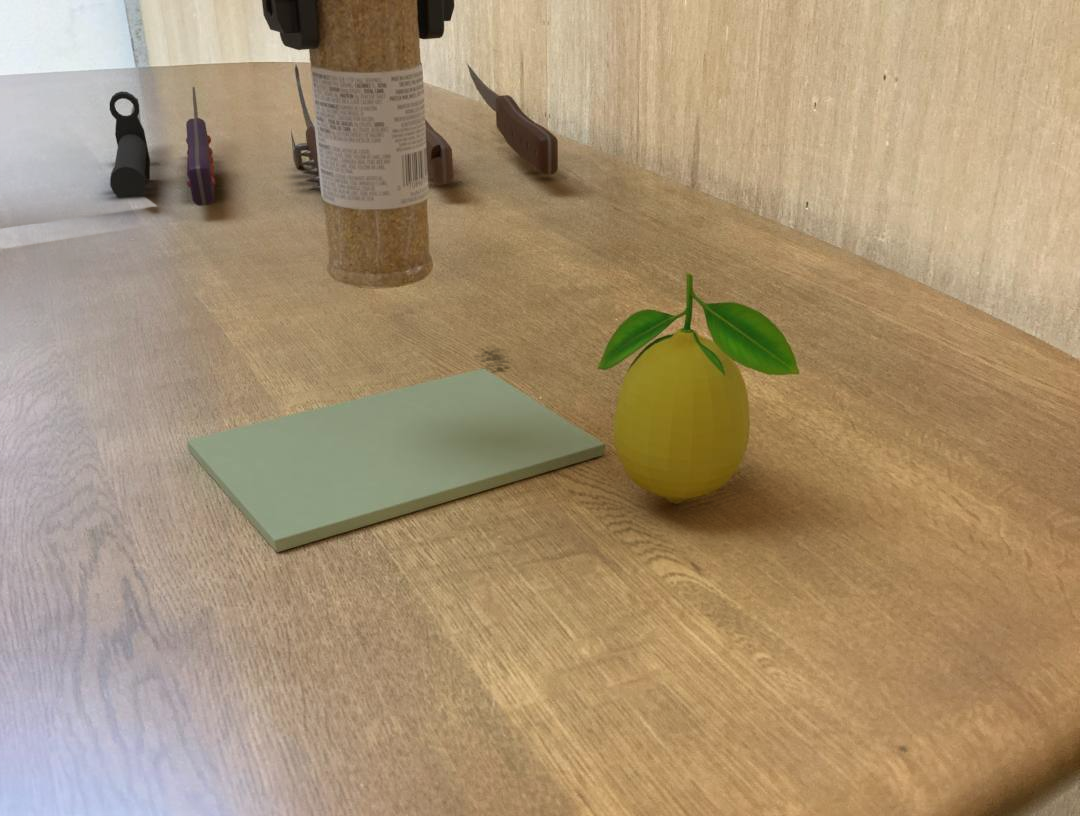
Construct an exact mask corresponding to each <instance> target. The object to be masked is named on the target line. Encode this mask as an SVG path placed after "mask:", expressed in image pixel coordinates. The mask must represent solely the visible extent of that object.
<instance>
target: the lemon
mask: <svg viewBox="0 0 1080 816" xmlns="http://www.w3.org/2000/svg"><path fill="white" fill-rule="evenodd" d="M693 281H694V277H693V275H692V274H691V273H686V303H685V305H686V306H685V309H684V310H683V311H682V312H680V313H677V314H675V315H674V314H671V313H667V312H663V311H659V310H656V309H642V310H639V311H636V312H634V313H632V314H631V315H629V316H628V317H627V318H626V319H625V320H624V321H623V322H622V323H621V324H619V325H618V327H617V329H616V330H615V331H614V333H613V334H612V335H611V337H610V339H609V341H608V343H607V344H606V347H605V349H604V351H603V354H602V356H601V359H600V361H599V363H598V366H597V369H598V370H604V371H605V370H609V369H611V368H613V367H616V366H617V365H619V364H620V363H622V362H624V361H625V360H626V359H627V358H629V357H631V356H632V355H633V354H634V353H636V352H637V351H639V350H641V348H643V347H644V346H645V347H644V348H643V349H642V350H641V351H640V352H639V353H638V354H637V356H636V357H635V359H634V360H633V361H632V363H631V364H630V366H629V368H628V369H627V371H626V373H625V375H624V377H623V379H622V383H621V385H620V388H619V392H618V396H617V401H616V408H615V413H614V421H613V441H614V442H613V444H614V447H615V453H616V456H617V458H618V460H619V462H620V464H621V466H622V468H623V470H624V471H625V473H626V474H627V476H628V477H629V478H630V480H631V481H632V482H633V483H634V484H636V485H637V486H639V487H640V488H641V489H643V490H645V491H647V492H649V493H650V494H654V495H656V496H658V497H662V498H665V500H666V501H667V502H669V503H671V504H677V505H679V504H681V503H683V502H684V501H686V500H687V499H688V500H689V499H695V498H699V497H702V496H705V495H708V494H711V493H713V492H715V491H717V490H719V489H720V488H722V487H724V486H725V485H726V484H727V483H728V482H729V481H730V480H731V479H732V477H733V476H734V475H735V473H736V471H737V470H738V468H739V466H740V465H741V463H742V462H743V458H744V457H745V453H746V451H747V447H748V443H749V438H750V430H751V429H750V427H751V422H750V420H751V418H750V404H749V403H750V402H749V395H748V390H747V385H746V382H745V378H744V377H743V374H742V372H741V370H740V368H739V366H738V364H739V365H741V366H743V367H744V368H747V369H749V370H750V369H751V370H752V371H756V372H758V373H762V374H765V375H768V376H769V375H770V376H771V375H772V376H786V375H800V370H799V368H798V363H797V360H796V356H795V354H794V352H793V350H792V347H791V346H790V343H789V342H788V340H787V338H786V336H785V335H784V334H783V333H782V331H781V330H780V329H779V328H778V326H777V325H776V324H775V323H773V321H771V320H770V319H769V318H768V317H767V316H766V315H765V314H763V312H761V311H758V310H756V309H754V308H752V307H750V306H748V305H745V304H742V303H738V302H737V303H736V302H733V301H728V302H727V301H725V302H712V303H711V302H709V303H708V302H704V301H703V300H701V299H700V298H699V297H698V296H697V295H696V293H695V292H694V289H693V288H694V286H693ZM694 300H695V301H696V302H697V303H698V304H699V305H700V306H701V307H702V310H703V314H704V317H705V322H706V326H707V329H708V333H709V334H710V336H711V339H710V338H708V337H705V336H702V335H700V334H699V333H698V331H697V330H695V329H693V328H691V324H692V316H693V301H694ZM683 316H685V318H684V325H683V327H681V328H679V329H677V330H676V332H675V333H672V334H667V335H663V336H660V337H658V336H659V335H660V334H661V333H662V332H664V331H665V330H666V329H667V328H668V327H670V325H671V324H672V323H674V322H675V321H677V320H678V319H680V318H682V317H683ZM656 337H658V338H656ZM651 341H652V342H651ZM647 344H648V345H647Z"/></svg>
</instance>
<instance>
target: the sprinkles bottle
mask: <svg viewBox="0 0 1080 816" xmlns="http://www.w3.org/2000/svg"><path fill="white" fill-rule="evenodd" d="M316 4H317V15H318V26H319V37H320V41H319V46H318V48H317V49H308V52H309V63H310V73H311V75H310V76H311V85H312V96H313V97H312V99H313V113H314V119H313V122H314V124H313V125H314V127H315V136H316V146H317V156H318V167H319V178H320V188H321V192H320V195H321V198H322V200H323V212H324V215H325V231H326V240H327V241H326V242H327V248H328V260H327V263H326V269H327V273H328V275H329V276H330V277H331V278H332V280H333V281H335V282H338V283H341V284H344V285H345V286H346V285H347V286H351V287H356V288H361V289H372V290H378V289H379V290H380V289H388V288H390V289H391V288H392V289H393V288H400V287H404V286H410V285H413V284H417V283H419V282H421V281H423V280H425V279H426V278H427V277H428V276H429V275H430V274H431V273H432V271H433V268H434V263H433V262H434V261H433V257H432V255H431V254H430V253H431V252H430V231H429V230H430V229H429V228H430V227H429V215H428V199H429V194H430V193H429V172H428V170H427V149H426V127H425V119H426V110H425V109H426V107H425V89H424V88H425V86H424V71H423V69H424V68H423V63H422V60H421V47H420V45H421V44H420V43H421V42H420V38H419V27H418V18H417V17H418V11H417V0H316Z"/></svg>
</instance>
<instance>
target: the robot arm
mask: <svg viewBox="0 0 1080 816" xmlns="http://www.w3.org/2000/svg"><path fill="white" fill-rule="evenodd" d="M261 4H262V5H261V6H262V14H263V17H264V20H265V21H266V24H267V25H268V28H269V30H271V31H274V32H278V33H279V37H280V40H281V42H282V44H283V46H284V47H287V48H290V49H293V50H297V51H305V50H309V49H317V48H318V46H319V41H320V37H319V26H318V15H317V4H316V0H261ZM454 10H455V0H417V11H418V17H417V18H418V27H419V40H420V39H421V40H433V39H434V40H435V39H441V38H442V37H443V35H444V33H445V22H451V20H452V18H453V15H454V14H453V13H454Z"/></svg>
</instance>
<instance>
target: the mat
mask: <svg viewBox="0 0 1080 816" xmlns="http://www.w3.org/2000/svg"><path fill="white" fill-rule="evenodd" d="M186 444H187V450H188V452H189V453H190V455H192V456H193V457H194V458H195V460H196V461H197V462H198V463H199V464H200V466H201V467H202V468H203V470H205V471H206V473H207V474H208V475H209V476H210V477H211V478H212V480H213V481H214V482H215V483H216V484H217V485H218V486H219V487H220V489H221V490H222V491H223V492H224V493H225V495H226V496H227V497H228V498H229V499H230V500H231V501H232V503H233V504H234V505H235V506H236V507H237V508H238V509H239V511H240V512H241V513H242V515H244V517H245V518H246V519H247V520H248V521H249V522H250V524H251V525H252V526H253V527H254V528H255V529H256V530H257V531H258V533H259V534H260V535H261V536H262V538H263V539H264V540H265V541H266V542H267V543H268V544H269V545H270V546H271V547H272V549H273V551H275V552H276V553H280V552H283V551H287V550H289V549H294V548H296V547H300V546H304V545H307V544H310V543H314V542H316V541H321V540H324V539H327V538H330V537H333V536H337V535H340V534H341V535H342V534H344V533H347V532H351V531H354V530H357V529H360V528H364V527H367V526H370V525H373V524H377V523H380V522H384V521H387V520H391V519H394V518H397V517H402V516H404V515H407V514H411V513H415V512H418V511H421V510H425V509H427V508H430V507H434V506H437V505H441V504H444V503H447V502H451V501H454V500H458V499H461V498H465V497H468V496H470V495H475V494H478V493H481V492H484V491H489V490H491V489H494V488H497V487H501V486H505V485H508V484H511V483H515V482H518V481H522V480H525V479H529V478H532V477H535V476H539V475H541V474H546V473H548V472H551V471H555V470H558V469H561V468H565V467H569V466H573V465H575V464H579V463H582V462H586V461H589V460H592V459H595V458H598V457H602V456H604V455H605V453H606V444H605V442H603V441H601V440H599V439H598V438H597V437H595V436H594V435H591V434H590V433H589V432H587V431H586V430H584V429H582V428H581V427H579V426H577V425H576V424H574V423H573V422H571V421H569V420H567V419H566V418H565V417H563V416H561V415H560V414H558V413H557V412H555V411H553V410H552V409H550V408H549V407H547V406H545V405H544V404H542V403H540V402H539V401H538V400H536V399H534V398H533V397H531V396H529V395H528V394H527V393H525V392H523V391H522V390H519V389H518V388H516V387H515V386H513V385H512V384H510V383H508V382H507V381H505V380H503V378H500V377H499V376H498V375H497V374H494V373H493V372H491V371H489V370H487V369H486V368H479V369H475V370H470V371H467V372H462V373H459V374H454V375H451V376H446V377H442V378H436V379H433V380H429V381H425V382H421V383H417V384H412V385H409V386H405V387H400V388H395V389H392V390H391V389H390V390H387V391H384V392H378V393H375V394H371V395H367V396H362V397H359V398H353V399H350V400H347V401H341V402H338V403H334V404H330V405H325V406H321V407H317V408H312V409H309V410H305V411H299V412H295V413H292V414H288V415H287V414H286V415H284V416H280V417H279V416H278V417H275V418H271V419H267V420H262V421H259V422H254V423H250V424H246V425H242V426H238V427H234V428H229V429H225V430H222V431H217V432H213V433H209V434H205V435H200V436H196V437H191V438H188V439H186Z"/></svg>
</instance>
